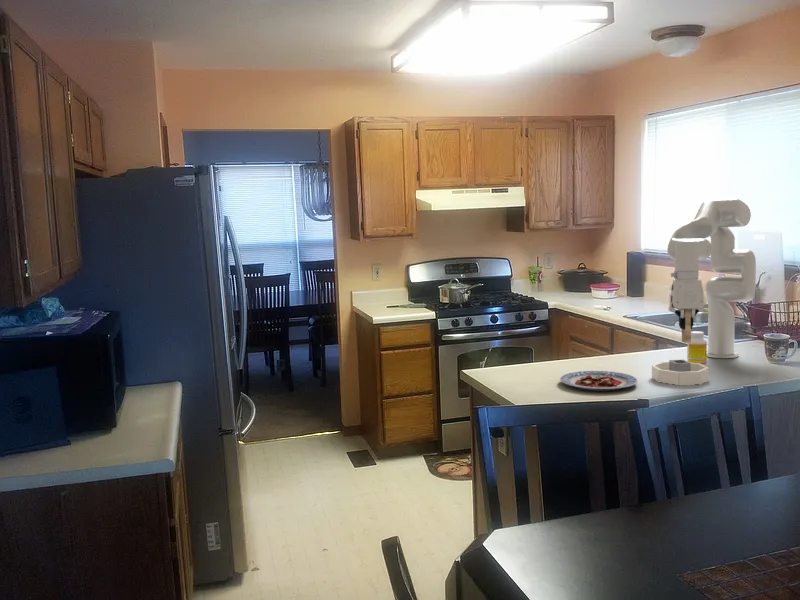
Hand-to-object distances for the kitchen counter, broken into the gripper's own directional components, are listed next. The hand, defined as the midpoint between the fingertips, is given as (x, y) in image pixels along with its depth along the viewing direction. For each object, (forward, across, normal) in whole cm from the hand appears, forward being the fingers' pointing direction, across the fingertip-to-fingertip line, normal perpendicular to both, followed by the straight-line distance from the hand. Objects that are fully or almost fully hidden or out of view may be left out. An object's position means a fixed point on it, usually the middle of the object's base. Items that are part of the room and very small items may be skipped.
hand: (686, 328), depth 233 cm
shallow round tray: (+18, -2, 0) cm, 18 cm away
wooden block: (+5, 0, 0) cm, 5 cm away
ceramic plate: (+19, -31, -3) cm, 36 cm away
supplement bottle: (+18, +12, +20) cm, 29 cm away
